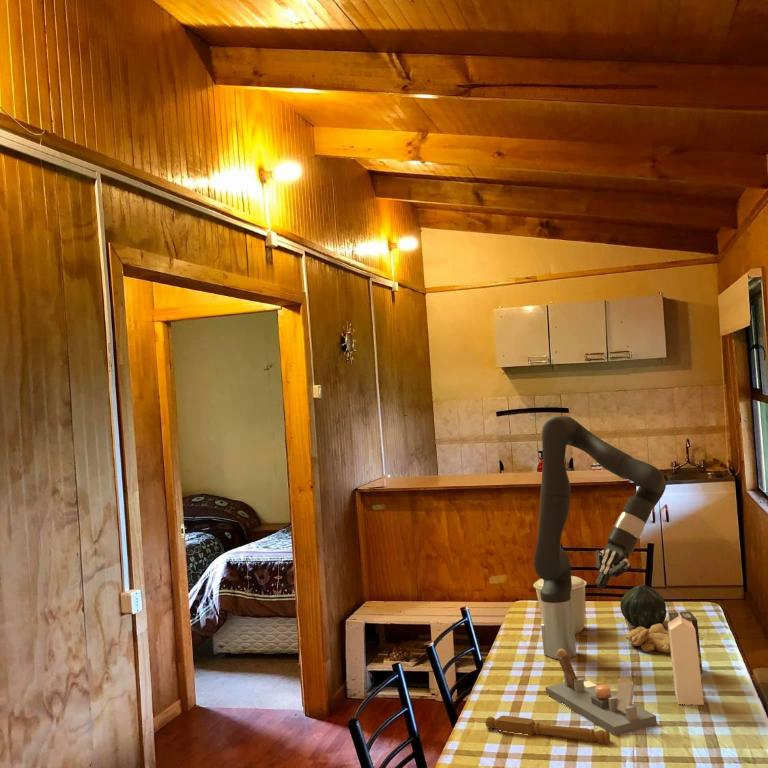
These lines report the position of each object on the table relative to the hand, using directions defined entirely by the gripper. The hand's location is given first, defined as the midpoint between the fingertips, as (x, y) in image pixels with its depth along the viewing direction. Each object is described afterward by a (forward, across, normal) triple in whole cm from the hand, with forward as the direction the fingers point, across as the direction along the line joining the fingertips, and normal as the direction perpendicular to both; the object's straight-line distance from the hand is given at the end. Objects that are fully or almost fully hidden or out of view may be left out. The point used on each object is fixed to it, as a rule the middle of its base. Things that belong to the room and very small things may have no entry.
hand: (599, 586), depth 204 cm
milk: (+15, +24, +20) cm, 35 cm away
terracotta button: (+24, +17, +1) cm, 30 cm away
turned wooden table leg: (+39, +20, -13) cm, 46 cm away
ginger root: (+7, -11, +40) cm, 42 cm away
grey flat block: (+25, +25, +1) cm, 35 cm away
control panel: (+28, +15, +4) cm, 32 cm away
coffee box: (+8, +11, +32) cm, 35 cm away
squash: (0, -30, +54) cm, 62 cm away
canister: (+15, -42, +35) cm, 57 cm away
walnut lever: (+27, +5, +3) cm, 27 cm away
